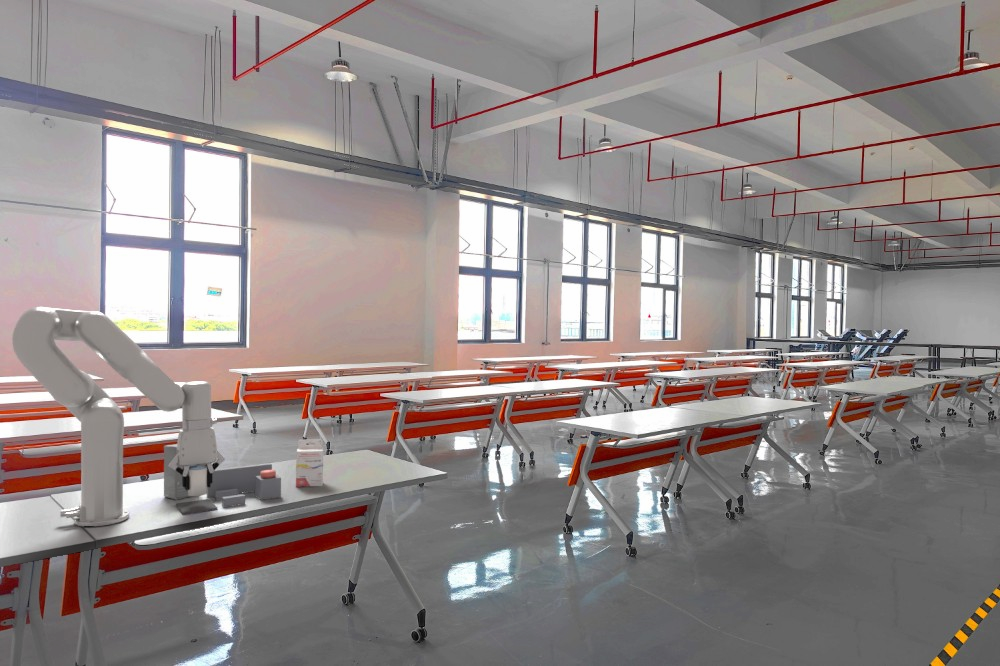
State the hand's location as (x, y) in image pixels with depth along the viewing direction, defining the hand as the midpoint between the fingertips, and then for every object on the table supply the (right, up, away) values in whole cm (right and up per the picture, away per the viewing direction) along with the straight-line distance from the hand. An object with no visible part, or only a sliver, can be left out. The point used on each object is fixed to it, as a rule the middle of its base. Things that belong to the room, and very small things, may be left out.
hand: (197, 487), depth 186 cm
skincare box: (-11, -6, +12) cm, 17 cm away
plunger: (+16, -4, +13) cm, 21 cm away
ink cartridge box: (+24, -6, +28) cm, 37 cm away
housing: (+9, -6, +11) cm, 16 cm away
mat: (0, -6, 0) cm, 6 cm away
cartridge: (0, -2, 0) cm, 2 cm away
